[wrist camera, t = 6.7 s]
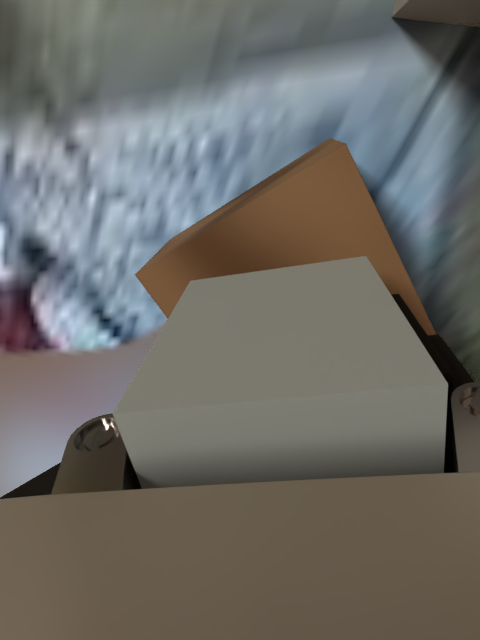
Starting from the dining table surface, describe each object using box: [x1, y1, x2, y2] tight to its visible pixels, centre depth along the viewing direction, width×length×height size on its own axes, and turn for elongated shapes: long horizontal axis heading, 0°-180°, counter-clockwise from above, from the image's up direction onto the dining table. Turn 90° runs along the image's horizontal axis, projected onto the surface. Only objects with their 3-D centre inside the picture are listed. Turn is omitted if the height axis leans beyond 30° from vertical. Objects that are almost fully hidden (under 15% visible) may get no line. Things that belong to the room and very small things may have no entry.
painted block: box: [112, 256, 448, 489], centre depth 10 cm, size 5×5×6 cm
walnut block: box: [135, 138, 436, 335], centre depth 16 cm, size 8×8×5 cm
